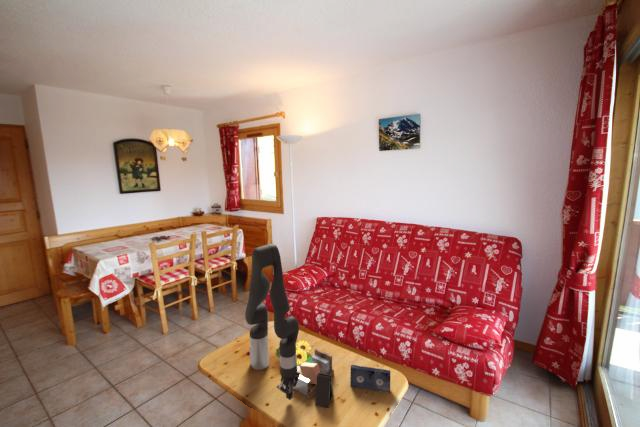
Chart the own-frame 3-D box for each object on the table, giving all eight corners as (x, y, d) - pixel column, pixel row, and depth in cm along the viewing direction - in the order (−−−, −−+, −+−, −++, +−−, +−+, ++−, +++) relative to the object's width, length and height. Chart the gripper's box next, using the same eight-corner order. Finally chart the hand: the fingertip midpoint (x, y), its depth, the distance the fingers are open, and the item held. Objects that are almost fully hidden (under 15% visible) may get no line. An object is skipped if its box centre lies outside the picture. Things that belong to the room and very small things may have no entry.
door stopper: (328, 408, 131) (327, 383, 129) (314, 405, 132) (314, 380, 131) (333, 393, 139) (333, 369, 137) (321, 390, 141) (320, 367, 139)
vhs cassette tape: (390, 389, 141) (390, 370, 139) (390, 394, 138) (390, 374, 137) (351, 382, 146) (351, 363, 144) (350, 386, 143) (350, 367, 142)
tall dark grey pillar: (290, 389, 142) (290, 369, 141) (316, 366, 158) (316, 348, 157) (309, 399, 136) (308, 379, 134) (334, 374, 152) (333, 356, 150)
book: (318, 384, 141) (313, 367, 141) (304, 382, 146) (299, 365, 147) (322, 380, 144) (318, 363, 144) (308, 378, 149) (304, 361, 150)
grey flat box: (292, 388, 143) (292, 374, 142) (295, 385, 144) (295, 372, 143) (307, 396, 137) (307, 382, 136) (310, 393, 139) (310, 380, 138)
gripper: (284, 374, 124) (285, 411, 127) (304, 357, 134) (305, 392, 137) (271, 367, 128) (272, 403, 131) (291, 351, 139) (293, 385, 142)
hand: (289, 398), depth 134 cm, fingers closed
